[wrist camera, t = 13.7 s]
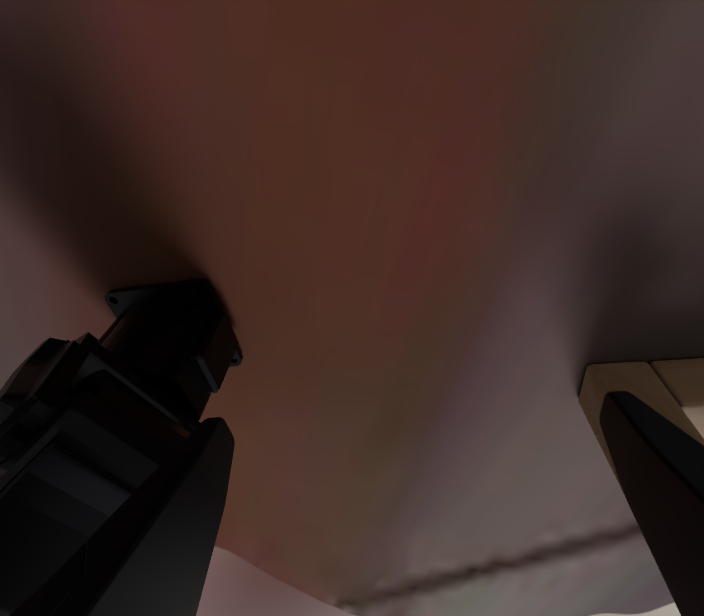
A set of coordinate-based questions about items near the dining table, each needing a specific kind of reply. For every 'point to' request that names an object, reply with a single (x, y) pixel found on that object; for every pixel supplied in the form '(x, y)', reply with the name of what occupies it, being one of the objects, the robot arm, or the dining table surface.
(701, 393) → the wooden block
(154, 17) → the dining table surface
